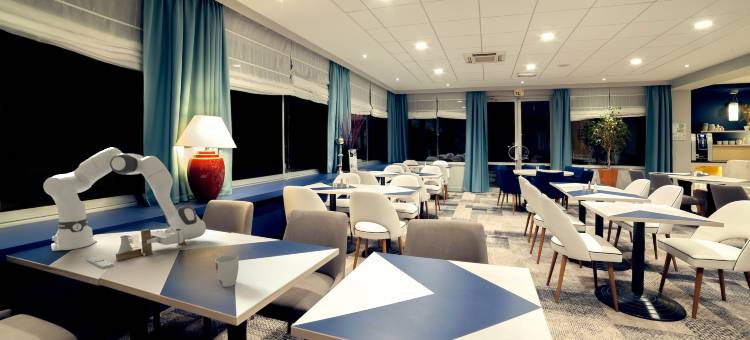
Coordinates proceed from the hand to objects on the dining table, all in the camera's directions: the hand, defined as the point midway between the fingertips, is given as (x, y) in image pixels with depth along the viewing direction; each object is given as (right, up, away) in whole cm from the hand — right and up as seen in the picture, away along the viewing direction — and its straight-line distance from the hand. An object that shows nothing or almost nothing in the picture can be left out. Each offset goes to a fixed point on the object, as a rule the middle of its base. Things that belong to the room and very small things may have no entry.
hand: (144, 241), depth 172 cm
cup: (+56, -9, -37) cm, 67 cm away
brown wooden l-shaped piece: (-9, -7, +2) cm, 12 cm away
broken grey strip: (-14, -8, -10) cm, 19 cm away
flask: (-8, -7, -1) cm, 11 cm away
